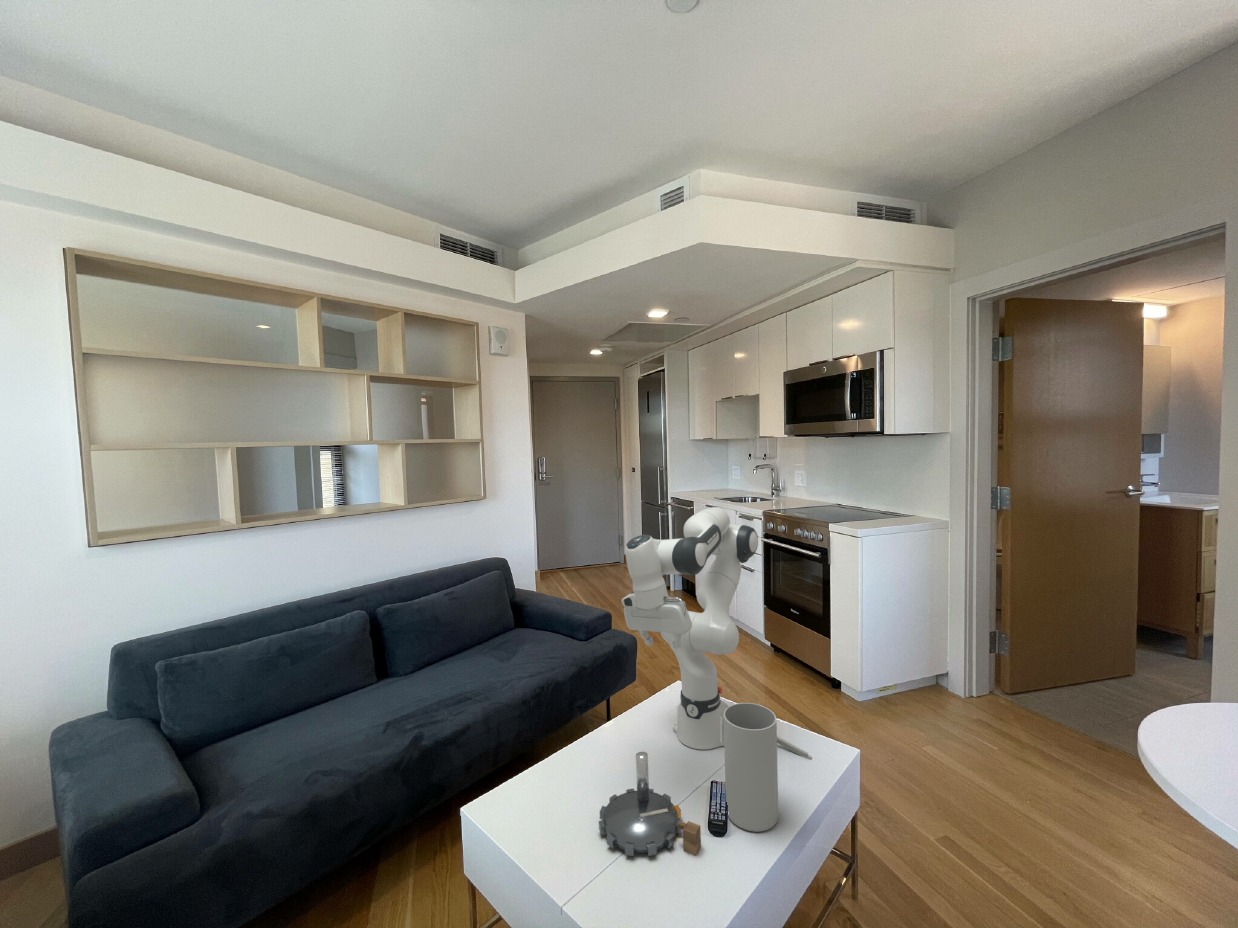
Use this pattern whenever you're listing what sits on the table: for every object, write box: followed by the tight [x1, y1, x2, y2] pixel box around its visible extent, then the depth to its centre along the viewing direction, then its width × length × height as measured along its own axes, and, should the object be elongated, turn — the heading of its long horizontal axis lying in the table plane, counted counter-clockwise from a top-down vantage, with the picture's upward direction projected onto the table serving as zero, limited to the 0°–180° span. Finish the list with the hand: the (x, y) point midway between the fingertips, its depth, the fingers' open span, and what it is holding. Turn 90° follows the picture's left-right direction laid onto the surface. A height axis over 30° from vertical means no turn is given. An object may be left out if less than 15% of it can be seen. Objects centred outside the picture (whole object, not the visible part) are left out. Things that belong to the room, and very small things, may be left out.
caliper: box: [777, 736, 813, 760], centre depth 155 cm, size 20×1×6 cm, turn 51°
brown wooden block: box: [678, 820, 702, 856], centre depth 118 cm, size 3×5×5 cm, turn 58°
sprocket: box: [598, 751, 683, 857], centre depth 125 cm, size 20×20×13 cm
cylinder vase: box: [723, 702, 779, 833], centre depth 127 cm, size 12×12×25 cm
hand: (663, 646), depth 139 cm, fingers open, 8 cm apart
